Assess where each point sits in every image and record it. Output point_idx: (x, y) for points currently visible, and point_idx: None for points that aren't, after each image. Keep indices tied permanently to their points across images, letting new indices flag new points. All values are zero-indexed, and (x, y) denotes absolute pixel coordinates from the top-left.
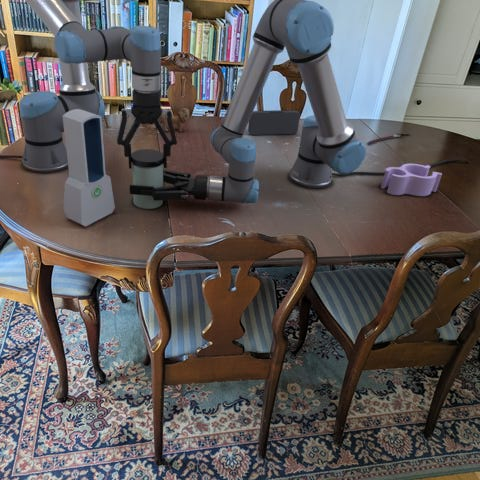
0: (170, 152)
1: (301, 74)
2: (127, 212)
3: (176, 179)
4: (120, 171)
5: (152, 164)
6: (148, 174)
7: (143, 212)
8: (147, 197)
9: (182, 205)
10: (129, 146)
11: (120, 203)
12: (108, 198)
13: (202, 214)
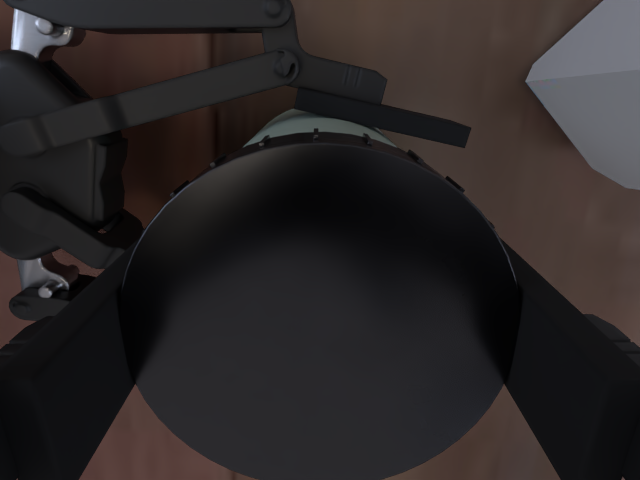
0: (3, 348)
1: None
2: (445, 70)
3: (111, 237)
4: (425, 477)
5: (271, 143)
6: (323, 129)
7: (356, 63)
8: None
9: (132, 133)
10: (622, 414)
11: (468, 177)
12: (614, 42)
13: (6, 10)
